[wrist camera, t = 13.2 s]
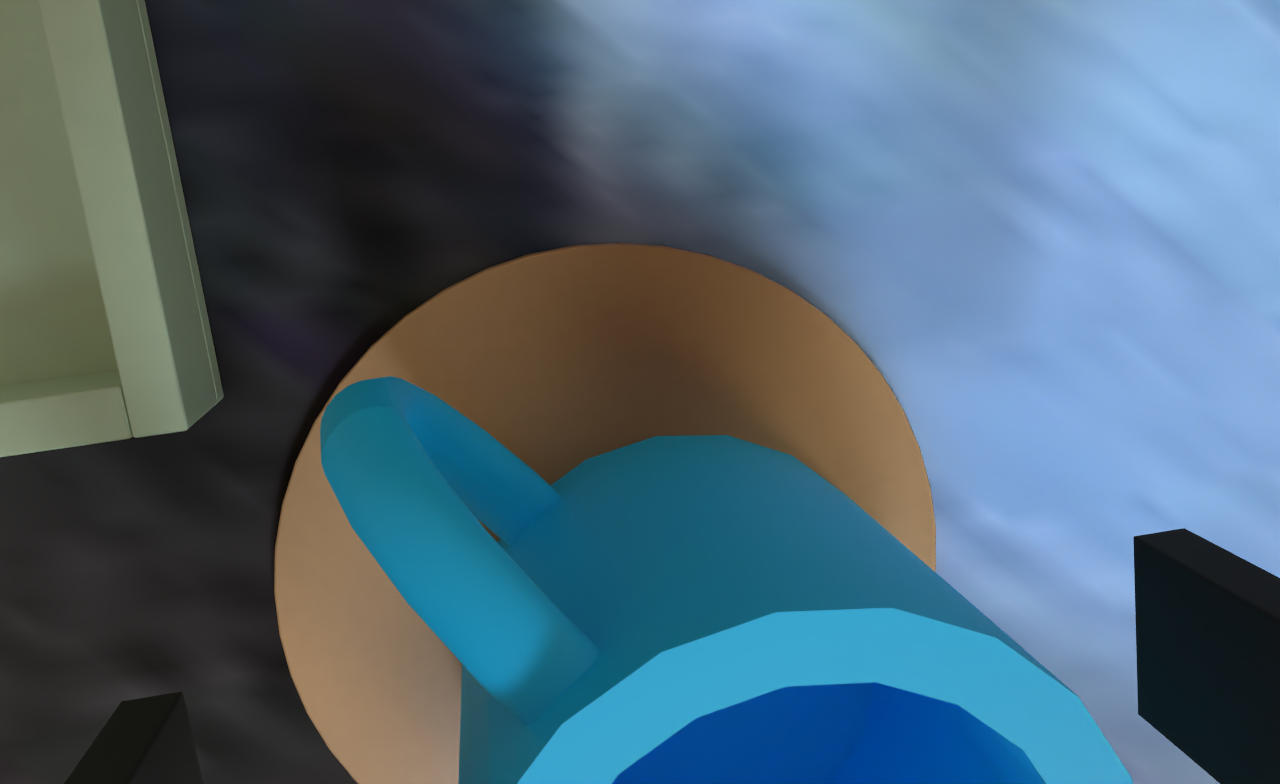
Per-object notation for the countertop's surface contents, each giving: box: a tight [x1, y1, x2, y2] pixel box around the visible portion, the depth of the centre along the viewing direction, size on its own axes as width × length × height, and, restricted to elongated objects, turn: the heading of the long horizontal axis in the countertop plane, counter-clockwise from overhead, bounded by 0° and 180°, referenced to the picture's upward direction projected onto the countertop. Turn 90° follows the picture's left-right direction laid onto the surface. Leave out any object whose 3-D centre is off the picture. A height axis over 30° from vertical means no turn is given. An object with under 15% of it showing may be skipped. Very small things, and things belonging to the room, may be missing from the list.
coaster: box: [274, 242, 936, 784], centre depth 20 cm, size 12×12×1 cm
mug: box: [320, 376, 1133, 784], centre depth 16 cm, size 12×8×8 cm
